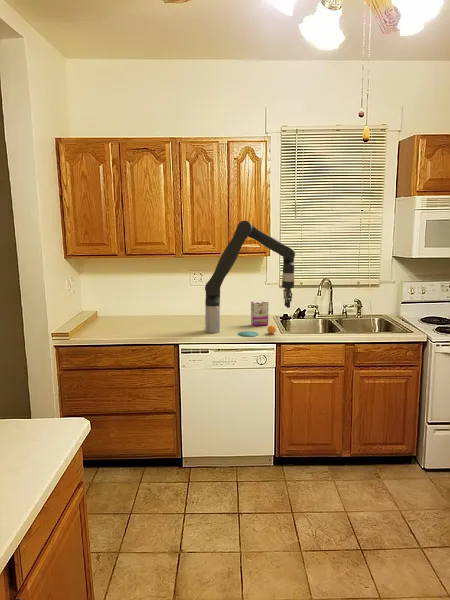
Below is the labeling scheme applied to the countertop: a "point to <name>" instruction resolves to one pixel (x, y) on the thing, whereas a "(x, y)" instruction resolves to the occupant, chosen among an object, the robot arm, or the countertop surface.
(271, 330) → the ball
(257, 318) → the candy bar box
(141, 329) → the countertop surface
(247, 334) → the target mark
